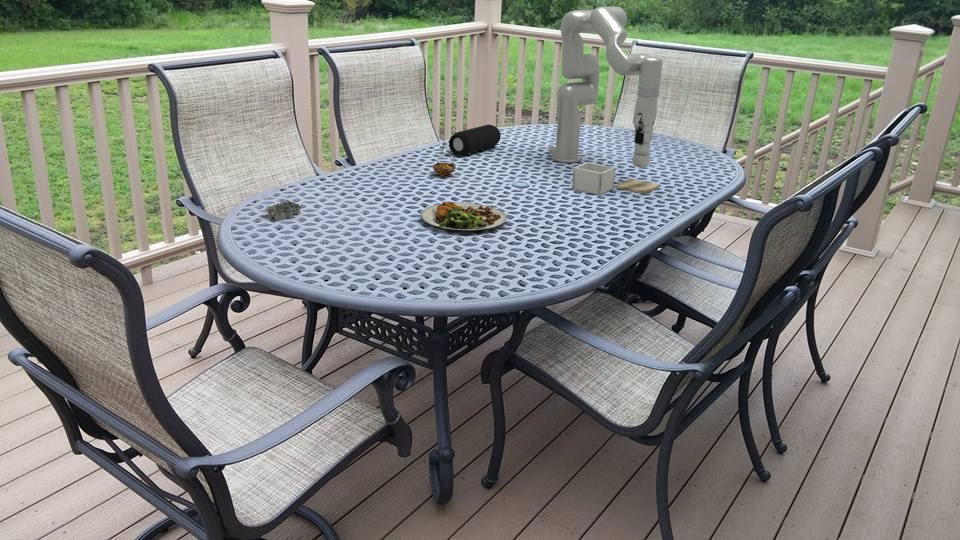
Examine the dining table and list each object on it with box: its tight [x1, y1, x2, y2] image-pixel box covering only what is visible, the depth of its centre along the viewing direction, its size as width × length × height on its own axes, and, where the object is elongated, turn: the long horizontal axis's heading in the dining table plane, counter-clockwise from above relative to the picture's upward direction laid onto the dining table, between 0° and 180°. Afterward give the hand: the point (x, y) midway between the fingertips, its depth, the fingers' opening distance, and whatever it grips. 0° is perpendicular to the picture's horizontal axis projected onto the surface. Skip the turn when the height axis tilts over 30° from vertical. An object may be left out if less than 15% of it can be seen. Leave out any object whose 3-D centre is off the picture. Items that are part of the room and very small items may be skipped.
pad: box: [615, 178, 660, 195], centre depth 298 cm, size 12×12×1 cm
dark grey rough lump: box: [264, 199, 303, 221], centre depth 256 cm, size 11×8×4 cm
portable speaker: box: [448, 124, 502, 156], centre depth 339 cm, size 26×10×10 cm, turn 142°
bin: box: [571, 161, 616, 196], centre depth 293 cm, size 12×11×8 cm
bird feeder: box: [432, 107, 457, 176], centre depth 299 cm, size 9×9×30 cm
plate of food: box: [420, 201, 508, 231], centre depth 256 cm, size 28×28×6 cm
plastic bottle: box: [631, 122, 654, 168], centre depth 291 cm, size 6×7×20 cm
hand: (642, 141), depth 291 cm, fingers closed on plastic bottle, 6 cm apart
